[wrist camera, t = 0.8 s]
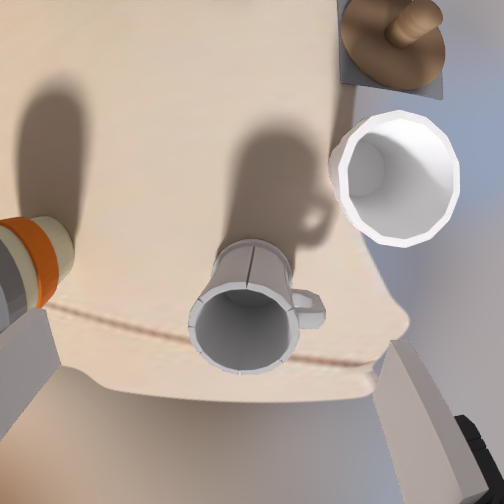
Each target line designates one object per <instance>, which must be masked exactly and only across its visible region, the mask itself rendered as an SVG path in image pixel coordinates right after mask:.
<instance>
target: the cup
mask: <svg viewBox="0 0 504 504" xmlns="http://www.w3.org/2000/svg"><path fill="white" fill-rule="evenodd" d="M291 287H292V271H291V267H290V265H289V262H288V260H287V258H286V256H285V255H284V254H283V253H282V252H281V251H280V249H279V248H277V247H275V246H274V245H272V244H271V243H269V242H267V241H263V240H259V239H242V240H240V241H237V242H234V243H232V244H230V245H229V246H228V247H226V248H225V249H224V250H223V251H221V253H220V254H219V256H218V258H217V259H216V261H215V263H214V265H213V269H212V274H211V280H210V282H209V283H208V285H207V286H206V288H205V289H204V291H203V292H202V293H201V295H200V296H199V298H198V299H197V301H196V302H195V304H194V306H193V307H192V309H191V311H190V315H189V321H188V325H189V326H188V330H189V335H190V340H191V342H192V344H193V345H194V347H195V349H196V350H197V352H198V353H199V352H200V353H199V355H201V356H202V357H203V358H204V359H205V360H206V361H207V362H208V363H209V364H211V365H213V366H215V367H217V368H218V369H220V370H222V371H225V372H229V373H233V374H238V375H239V372H240V373H241V375H257V374H260V373H264V372H268V371H271V370H273V369H274V368H276V367H278V366H279V365H281V364H283V361H284V362H285V361H286V360H287V359H288V358H289V357H290V355H291V354H292V353H293V352H294V350H295V348H296V345H297V342H298V340H299V329H318V328H319V327H321V326H322V325H323V324H324V321H325V319H326V310H325V307H324V305H323V303H322V301H321V299H320V297H319V295H317V294H314V293H312V292H310V291H308V290H300V289H291ZM294 306H295V307H294Z"/></svg>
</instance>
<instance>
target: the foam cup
mask: <svg viewBox="0 0 504 504" xmlns="http://www.w3.org/2000/svg"><path fill="white" fill-rule="evenodd" d="M328 171H329V178H330V180H331V182H332V185H333V189H334V196H335V197H336V199H337V201H338V203H339V205H340V206H341V208H342V210H343V212H344V214H345V216H346V217H347V219H348V220H349V221H350V222H351V223H352V224H353V225H354V226H355V227H356V228H357V229H359V230H360V231H362V232H363V233H364V234H366V235H367V236H369V237H370V238H371V239H373V240H374V241H375V242H377V243H378V244H383V245H390V246H397V247H403V248H406V247H409V246H412V245H415V244H418V243H421V242H423V241H426V240H429V239H431V238H432V237H433V236H434V235H435V234H436V233H437V232H438V231H439V230H440V229H441V228H442V227H443V226H444V225H445V224H446V223H447V222H448V221H449V220H450V217H451V215H452V212H453V210H454V207H455V204H456V202H457V199H458V197H459V194H460V172H459V162H458V160H457V157H456V155H455V153H454V150H453V148H452V146H451V143H450V141H449V139H448V137H447V136H446V135H445V134H444V133H443V132H442V131H441V130H440V129H439V128H438V127H437V126H435V125H434V124H433V123H432V122H431V121H430V120H429V119H428V118H426V117H424V116H420V115H417V114H413V113H410V112H406V111H403V110H395V111H391V112H387V113H383V114H378V115H374V116H371V117H367V118H364V119H362V120H361V121H359V122H358V123H357V124H356V125H355V126H354V127H353V128H352V129H351V130H350V131H349V132H348V133H346V134H345V135H344V136H343V137H342V138H341V141H340V144H339V145H337V146H336V147H335V148H334V149H333V150H332V153H331V156H330V158H329V161H328Z"/></svg>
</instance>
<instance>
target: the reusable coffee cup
mask: <svg viewBox="0 0 504 504" xmlns="http://www.w3.org/2000/svg"><path fill="white" fill-rule="evenodd" d="M73 262H74V249H73V244H72V241H71V238H70V236H69V234H68V232H67V230H66V229H65V227H64V226H63V225H62V224H61V223H60V222H59V221H57V220H56V219H54V218H52V217H49V216H40V217H35V218H29V219H28V218H24V217H15V218H9V219H3V220H0V334H1V333H2V332H3V331H4V330H6V329H7V328H8V327H9V326H10V325H11V324H13V323H14V322H15V321H16V320H17V319H19V318H20V317H21V316H22V315H24V314H25V313H26V312H27V311H28V310H30V309H31V308H32V307H35V308H40V309H41V308H42V307H43V306H44V304H45V303H46V302H47V301H48V300H49V299H50V298H51V297H52V296H53V294H54V292H55V291H56V288H57V285H58V284H59V283H60V282H61V281H62V280H63V279H64V278H65V277H66V276H67V275H68V274H69V272H70V271H71V269H72V266H73Z"/></svg>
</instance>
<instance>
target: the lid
mask: <svg viewBox="0 0 504 504" xmlns="http://www.w3.org/2000/svg"><path fill="white" fill-rule="evenodd" d="M442 20H443V16H442V12H441V10H440V8H439V7H438V6H437V5H436V4H435V3H434V2H433V1H431V0H413V1H412V0H352V1H351V2H350V3H349V5H348V6H347V8H346V10H345V11H344V13H343V16H342V18H341V23H340V34H341V39H342V43H343V46H344V48H345V51H346V52H347V54H348V56H349V58H350V59H351V60H352V62H353V63H354V64H355V65H356V67H357V68H358V69H359V70H360V71H361V72H363V73H364V74H365V75H366V76H367V77H369V78H370V79H372V80H373V81H375V82H377V83H379V84H381V85H383V86H386V87H389V88H393V89H398V90H412V89H416V88H420V87H422V86H425V85H427V84H429V83H431V82H432V81H433V80H435V79H436V77H437V76H438V75H439V74H440V72H441V70H442V68H443V65H444V61H445V45H444V41H443V38H442V35H441V32H440V30H439V28H438V25H440V24H441V23H442Z"/></svg>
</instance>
